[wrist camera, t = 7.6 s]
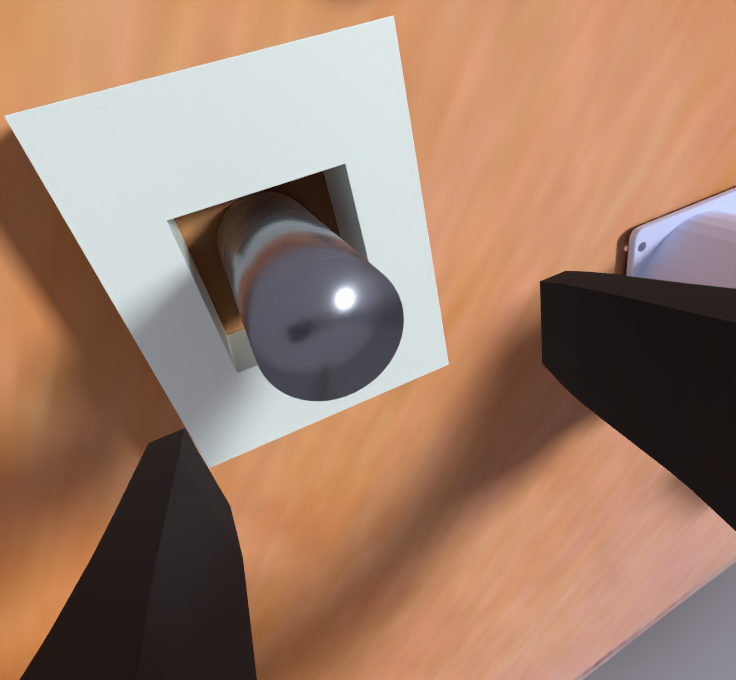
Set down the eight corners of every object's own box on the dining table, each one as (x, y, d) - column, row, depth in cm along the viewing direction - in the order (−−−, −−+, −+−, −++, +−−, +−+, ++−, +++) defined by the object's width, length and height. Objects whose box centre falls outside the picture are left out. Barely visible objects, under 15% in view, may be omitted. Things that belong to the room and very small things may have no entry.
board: (416, 332, 22) (448, 364, 19) (203, 420, 20) (209, 468, 17) (356, 27, 15) (393, 15, 13) (33, 111, 13) (4, 115, 11)
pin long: (324, 272, 19) (411, 372, 12) (234, 299, 18) (276, 421, 11) (303, 180, 17) (393, 239, 10) (202, 205, 16) (230, 287, 9)
